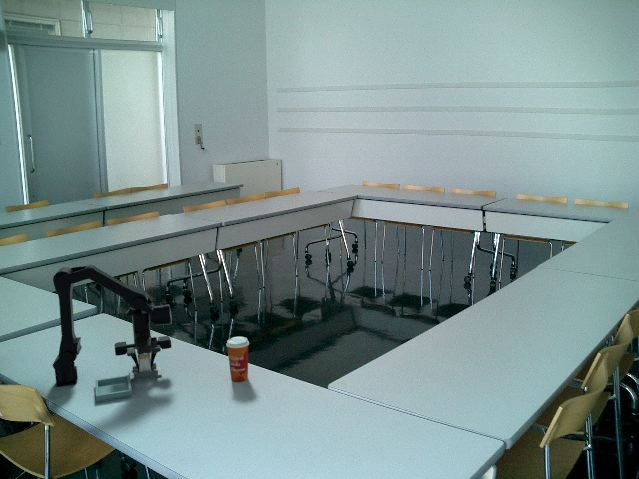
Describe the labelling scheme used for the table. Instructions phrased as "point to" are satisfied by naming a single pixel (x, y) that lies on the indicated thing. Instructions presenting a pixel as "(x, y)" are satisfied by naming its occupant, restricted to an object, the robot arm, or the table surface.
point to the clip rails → (145, 373)
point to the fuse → (144, 362)
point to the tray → (113, 388)
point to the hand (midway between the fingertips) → (144, 368)
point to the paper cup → (238, 358)
